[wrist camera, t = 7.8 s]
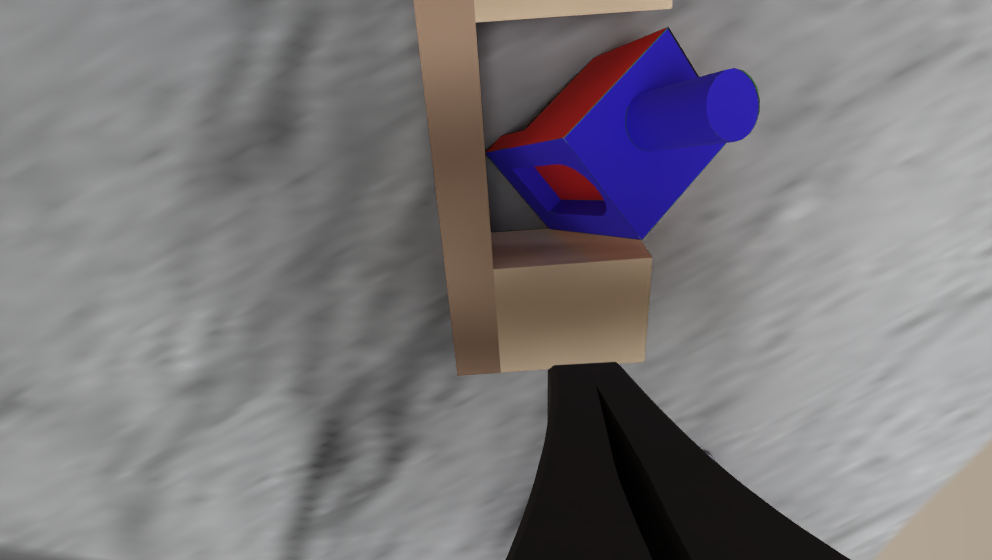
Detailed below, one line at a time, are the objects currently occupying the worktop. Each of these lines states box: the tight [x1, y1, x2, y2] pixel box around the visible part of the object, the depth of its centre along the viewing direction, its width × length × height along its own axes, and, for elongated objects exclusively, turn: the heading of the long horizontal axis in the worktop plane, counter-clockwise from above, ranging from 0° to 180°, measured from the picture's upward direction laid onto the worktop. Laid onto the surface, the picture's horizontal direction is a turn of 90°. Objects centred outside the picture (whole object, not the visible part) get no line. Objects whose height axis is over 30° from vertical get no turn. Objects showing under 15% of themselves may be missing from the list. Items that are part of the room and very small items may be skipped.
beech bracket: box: [413, 0, 673, 376], centre depth 17 cm, size 15×6×3 cm, turn 4°
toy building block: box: [485, 27, 760, 240], centre depth 15 cm, size 4×4×8 cm
